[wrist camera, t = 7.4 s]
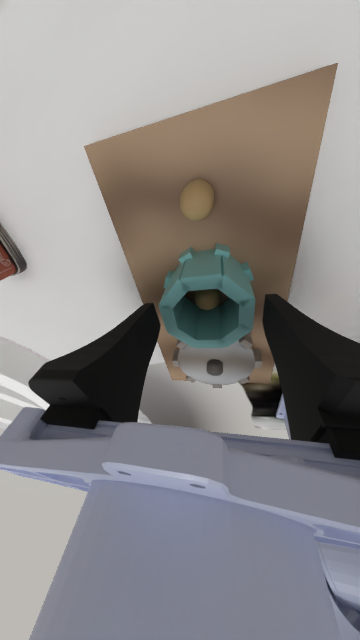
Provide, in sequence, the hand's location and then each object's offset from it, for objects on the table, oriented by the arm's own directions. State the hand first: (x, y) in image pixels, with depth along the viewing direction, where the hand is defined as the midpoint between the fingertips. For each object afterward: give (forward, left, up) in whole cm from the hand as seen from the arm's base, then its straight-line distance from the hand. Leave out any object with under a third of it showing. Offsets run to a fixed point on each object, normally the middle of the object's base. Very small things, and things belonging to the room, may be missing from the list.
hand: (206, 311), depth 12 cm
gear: (0, 0, -3) cm, 3 cm away
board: (-2, 0, -4) cm, 5 cm away
